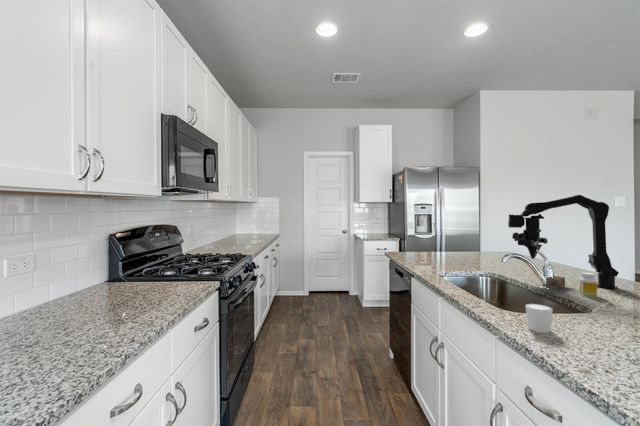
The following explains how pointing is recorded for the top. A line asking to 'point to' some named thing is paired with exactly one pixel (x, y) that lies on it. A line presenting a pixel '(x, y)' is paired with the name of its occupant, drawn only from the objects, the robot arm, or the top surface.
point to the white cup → (539, 317)
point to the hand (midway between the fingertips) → (533, 258)
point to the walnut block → (555, 282)
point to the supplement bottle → (588, 285)
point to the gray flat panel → (555, 290)
